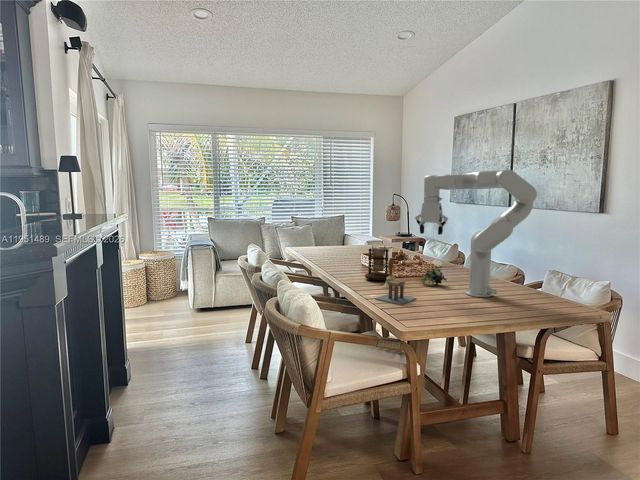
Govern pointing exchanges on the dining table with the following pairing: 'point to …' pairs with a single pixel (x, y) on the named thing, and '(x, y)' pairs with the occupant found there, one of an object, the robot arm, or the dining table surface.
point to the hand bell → (389, 275)
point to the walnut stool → (396, 288)
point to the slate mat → (399, 301)
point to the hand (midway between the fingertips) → (430, 233)
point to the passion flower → (433, 276)
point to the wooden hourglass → (377, 264)
